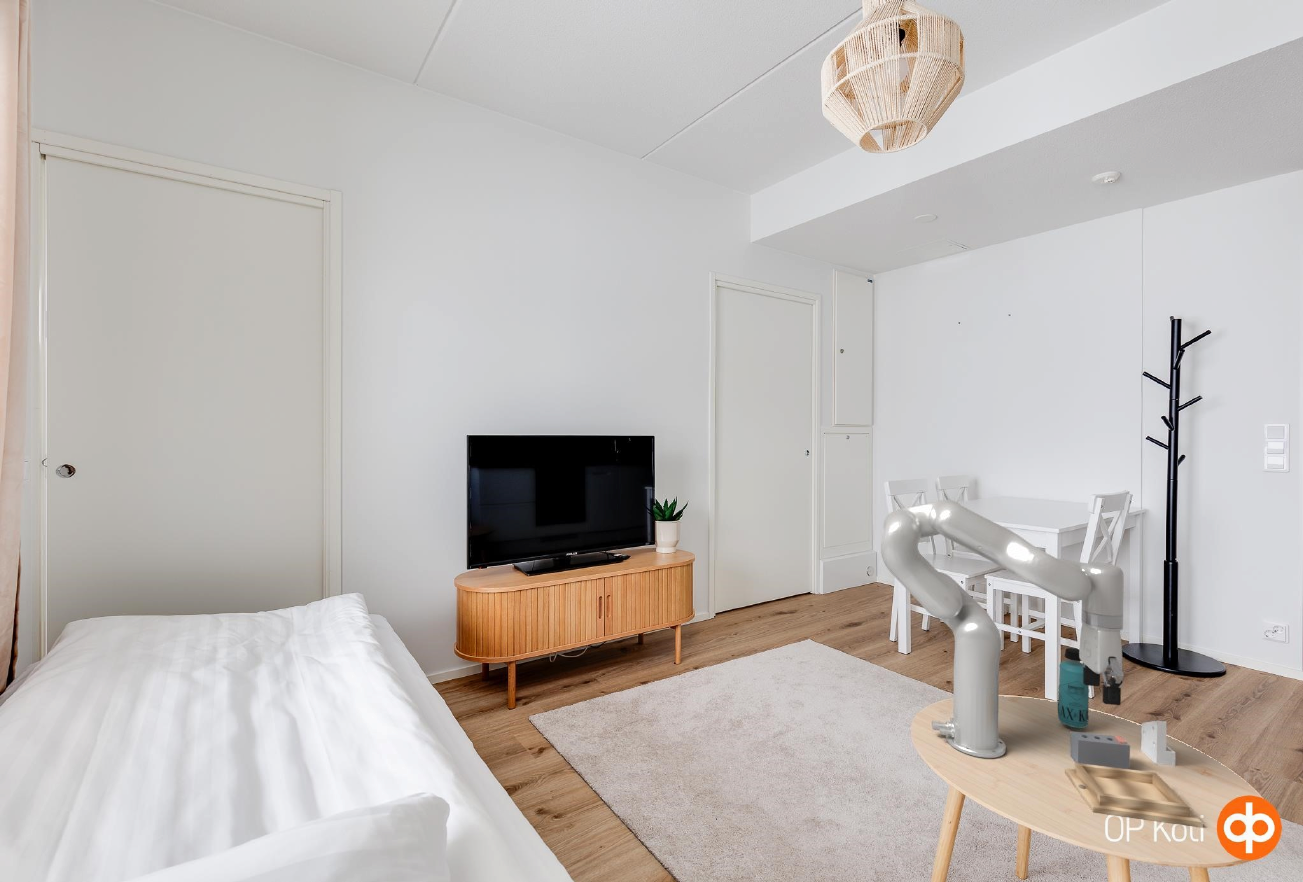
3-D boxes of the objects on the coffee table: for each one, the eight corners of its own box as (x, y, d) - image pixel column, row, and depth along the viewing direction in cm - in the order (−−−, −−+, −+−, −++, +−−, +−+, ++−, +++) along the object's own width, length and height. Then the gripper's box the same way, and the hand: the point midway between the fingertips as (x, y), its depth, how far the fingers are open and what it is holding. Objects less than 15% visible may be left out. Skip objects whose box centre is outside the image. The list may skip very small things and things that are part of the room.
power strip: (1077, 766, 136) (1078, 738, 136) (1070, 756, 140) (1070, 730, 140) (1129, 772, 133) (1130, 744, 133) (1120, 762, 137) (1120, 735, 137)
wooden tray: (1093, 812, 120) (1093, 797, 119) (1064, 772, 133) (1064, 759, 133) (1202, 827, 115) (1202, 811, 115) (1161, 784, 128) (1161, 771, 128)
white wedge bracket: (1169, 764, 132) (1157, 720, 136) (1144, 764, 141) (1134, 723, 145) (1188, 766, 131) (1175, 722, 135) (1162, 766, 140) (1151, 725, 144)
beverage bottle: (1052, 720, 156) (1053, 644, 156) (1080, 722, 155) (1081, 645, 155) (1065, 733, 150) (1067, 653, 149) (1095, 735, 149) (1096, 655, 148)
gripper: (1067, 606, 145) (1066, 677, 145) (1100, 630, 128) (1099, 710, 129) (1103, 609, 143) (1102, 680, 143) (1141, 633, 126) (1140, 714, 127)
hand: (1101, 694), depth 136 cm, fingers open, 9 cm apart
